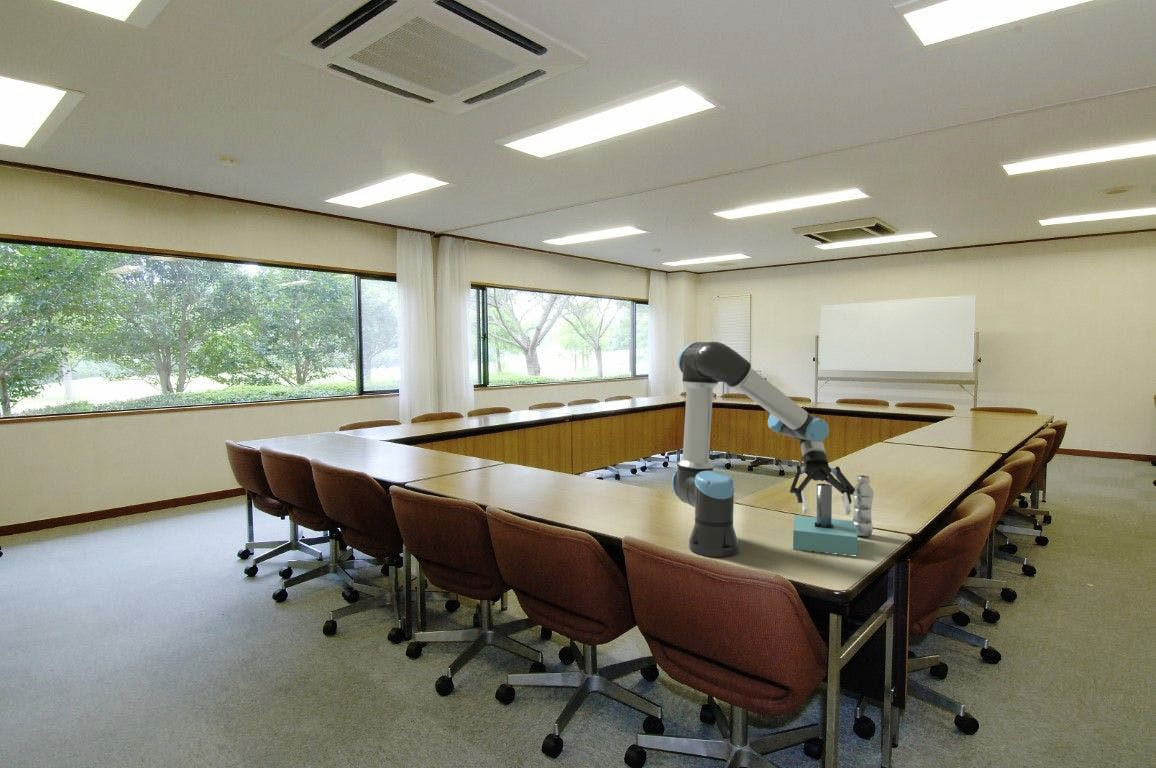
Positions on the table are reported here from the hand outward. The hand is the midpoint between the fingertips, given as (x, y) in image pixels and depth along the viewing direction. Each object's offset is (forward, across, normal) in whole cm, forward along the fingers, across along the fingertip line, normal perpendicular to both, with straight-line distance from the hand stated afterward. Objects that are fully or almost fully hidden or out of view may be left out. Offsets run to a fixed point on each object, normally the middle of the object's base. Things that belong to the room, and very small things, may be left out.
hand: (826, 512), depth 180 cm
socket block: (+6, 0, -10) cm, 11 cm away
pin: (+5, 0, -9) cm, 10 cm away
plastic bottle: (-1, -15, -17) cm, 23 cm away
